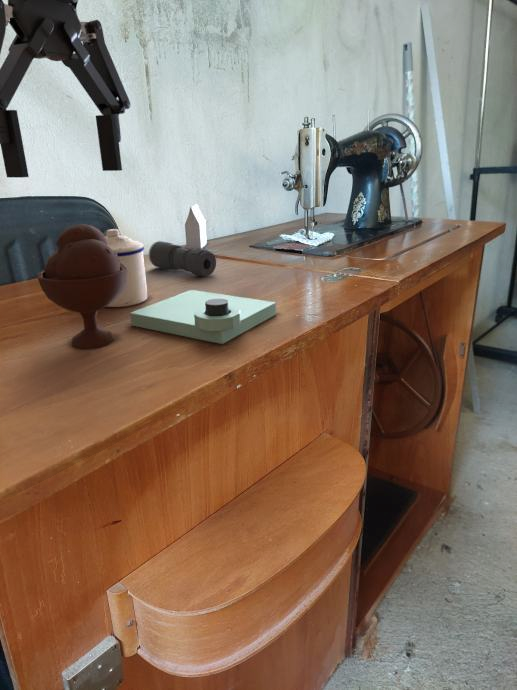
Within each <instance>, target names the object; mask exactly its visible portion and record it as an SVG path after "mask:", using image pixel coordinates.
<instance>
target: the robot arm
mask: <svg viewBox="0 0 517 690" xmlns="http://www.w3.org/2000/svg"><path fill="white" fill-rule="evenodd" d="M78 3H79V0H7V4H6V3H4V1H3V0H0V55H1V53H2V49H3V45H4V42H5V41H4V40H5V36H6V31H7V27H8V26H9V25H10V27H11V28H12V30H13V31H14V32H15V34H16V35H15V36H14V38H13V40H12V41H11V43H10V45H9V47H8V54H7V56H6V58H5V59H4V61H3V63H2V65H1V66H0V149H1V155H2V160H3V166H4V169H5V175H6V178H21V179H22V178H30V175H29V171H28V165H27V159H26V154H25V148H24V143H23V142H24V141H23V137H22V132H21V126H20V121H19V115H18V110H17V109H7V108H9V106H10V104H11V102H12V100H13V98H14V96H15V94H16V92H17V91H18V90H19V89H18V88H19V86H20V85H21V83H22V81H23V79H24V77H25V76H26V73H27V72H28V70H29V68H30V66H31V64H32V62H33V60H34V59H38V60H41V59H48V60H50V61H52V62H61V63H62V64H63V65H64V66H65V67H67V68H69V70H70V71H71V72H72V74H73V75H74V77H75V78H76V80H77V81H78V83H79V84H80V85H81V87H82V88H83V89H84V91H85V92H86V94H87V95H88V97H89V98H90V99H91V101H92V102H93V104H94V105H95V106H96V109H98V111H99V112H100V114H99V115H95V122H96V129H97V138H98V145H99V146H98V147H99V152H100V153H99V154H100V161H101V168H102V172H114V171H115V172H117V171H118V172H119V171H123V166H122V165H123V164H122V158H121V149H120V148H121V147H120V143H121V142H122V133H121V125H120V124H121V123H120V115H122V114H123V115H124V114H125V112H126V110H129V109H130V108H131V101H130V99H129V96H128V93H127V91H126V89H125V87H124V84H123V82H122V79H121V78H120V75H119V73H118V70H117V67H116V65H115V63H114V61H113V59H112V55H111V54H110V51H109V48H108V46H107V44H106V40H105V35H104V31H103V26H102V23H101V22H100V20H98V19H94V20H88V21H81V19H80V18H79V16H78V13H77V7H78Z"/></svg>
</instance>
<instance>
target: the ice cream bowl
mask: <svg viewBox="0 0 517 690" xmlns="http://www.w3.org/2000/svg"><path fill="white" fill-rule="evenodd" d="M105 236H106V235H105V234H104V233H103V232H102V231H101V230H100V229H99V228H97V227H95V226H94V225H90V224H86V223H78V224H74V225H70V226H68V227H66V229H64V230H63V231H62V232H61V233H60V234H59V236H58V237H57V239H56V241H55V242H56V243H55V244H56V247H57V250H56V251H54V252H52V254H51V255H50V256H49V257H48V258H47V261H46V264H45V267H44V269H43V270H40V271H38V272H37V280H38V283H39V285H40V288H41V290H42V292H43V294H45V296H46V298H48V300H49V301H51V302H53V303H54V304H55V305H57V306H58V307H60V308H62V309H64V310H66V311H70V312H75V313H79V314H80V316H81V317H82V321H83V329H82V330H81V331H79V332H78V333H76V335H74V336H73V337H72V339H71V345H72V347H74V348H79V349H95V348H100V347H104V346H107V345H109V344H111V343H112V342H114V341H115V338H114V336H113V333H112V332H111V331H110V330H107V329H104V328H102V327H99V325H98V318H97V315H98V312H99V311H100V310H103V309H104V308H107V307H106V306H108V305H109V304H110V303H111V302H113V301H114V300H115V299H116V298H117V297H118V296H119V294H120V293H121V292H122V291H123V289H124V286H125V283H126V281H127V268H126V266H125V265H124V264H122V263H120V261H119V258H118V255H117V253H116V252H115V251H114V252H113V250H112V249H111V247H109V246H108V245H107V241H106V238H105Z"/></svg>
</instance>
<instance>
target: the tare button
mask: <svg viewBox="0 0 517 690" xmlns="http://www.w3.org/2000/svg"><path fill="white" fill-rule="evenodd" d="M205 308H206V315H208V316H224V315H227V314H229V305H228V300H226V299H210V300H207V301H206V302H205Z"/></svg>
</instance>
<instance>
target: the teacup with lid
mask: <svg viewBox="0 0 517 690" xmlns="http://www.w3.org/2000/svg"><path fill="white" fill-rule="evenodd" d="M104 236H105V238H106V241H107V245H108V246H109V247H111V249H112V250H113V252H114V251H115V252H116V253H117V255H118V258H119V261H120V263H122V264H124V265H125V266H126V268H127V281H126V283H125V286H124V289H123V291H122V292H121V293H120V294H119V296H118V297H117V298H116V299H115V300H114V301H113V302H111V303H110V304H109V305H108V306H106V307H105V308H123V307H131V306H134V305H138V304H141V303H143V302H145V301H146V300H147V299H148V288H147V277H146V269H145V260H144V259H145V258H144V250H145V247H144V245H143V243H142V242H141V241H137V240H133V239H131V238H129V237H127V236H126V235H121V234H120V230H119V229H117V228H111V229H107V230H106V235H104Z"/></svg>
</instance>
